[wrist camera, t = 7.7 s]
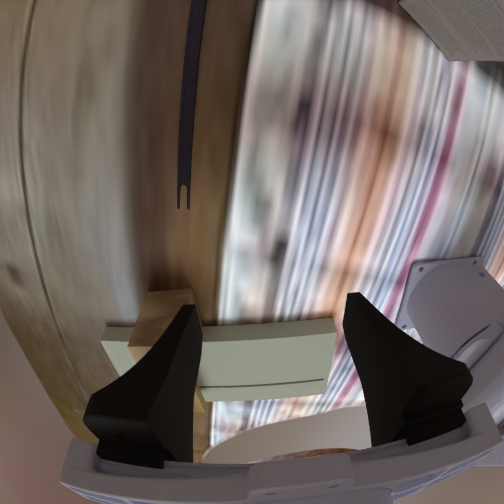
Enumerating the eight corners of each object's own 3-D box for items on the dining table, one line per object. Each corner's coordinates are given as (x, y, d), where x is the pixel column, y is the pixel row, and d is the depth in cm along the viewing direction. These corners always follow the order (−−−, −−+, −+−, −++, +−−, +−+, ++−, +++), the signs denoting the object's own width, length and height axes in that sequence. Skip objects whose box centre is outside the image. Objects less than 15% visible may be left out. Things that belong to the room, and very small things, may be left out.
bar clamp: (141, -116, 6) (284, -121, 6) (150, -104, 8) (281, -107, 8) (113, 268, 23) (235, 279, 23) (122, 252, 25) (236, 262, 25)
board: (332, 317, 27) (337, 332, 25) (321, 379, 32) (325, 394, 30) (106, 326, 27) (99, 341, 25) (137, 385, 32) (133, 398, 30)
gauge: (191, 288, 25) (179, 345, 19) (219, 377, 31) (216, 427, 25) (148, 291, 25) (127, 346, 19) (184, 378, 31) (177, 427, 26)
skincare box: (470, 35, 14) (585, 40, 3) (447, 62, 15) (572, 74, 5) (421, -23, 12) (528, -58, 1) (394, 1, 13) (509, -39, 3)
